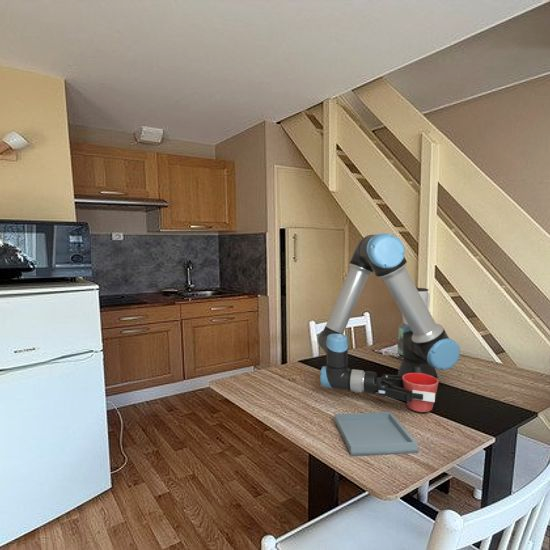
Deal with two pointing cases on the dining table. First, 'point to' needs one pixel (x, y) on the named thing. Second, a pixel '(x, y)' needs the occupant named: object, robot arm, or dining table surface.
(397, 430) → the tray
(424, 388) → the flower pot
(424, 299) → the juicer
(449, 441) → the dining table surface
